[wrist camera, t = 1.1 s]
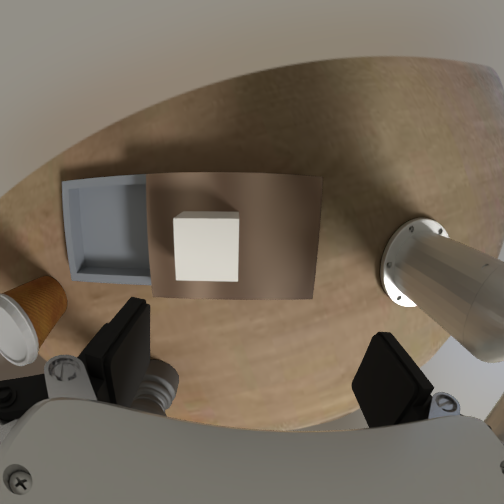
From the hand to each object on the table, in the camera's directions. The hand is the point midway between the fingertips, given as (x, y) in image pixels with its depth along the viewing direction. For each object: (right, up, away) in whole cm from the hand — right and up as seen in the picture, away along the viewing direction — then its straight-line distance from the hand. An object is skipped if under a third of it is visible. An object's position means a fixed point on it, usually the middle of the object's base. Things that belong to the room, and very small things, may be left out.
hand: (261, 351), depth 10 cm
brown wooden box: (-2, +7, +20) cm, 22 cm away
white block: (-4, +5, +15) cm, 16 cm away
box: (-16, +7, +20) cm, 27 cm away
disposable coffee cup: (-30, -2, +22) cm, 37 cm away
